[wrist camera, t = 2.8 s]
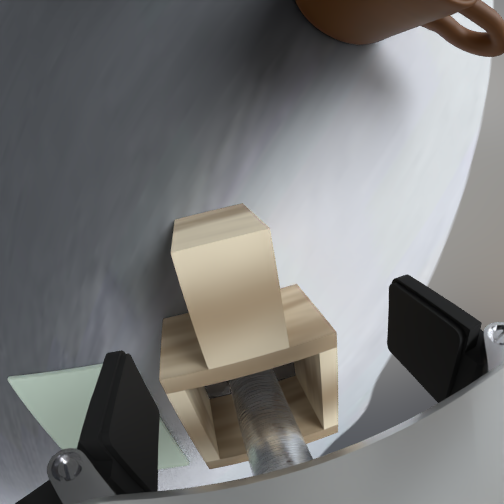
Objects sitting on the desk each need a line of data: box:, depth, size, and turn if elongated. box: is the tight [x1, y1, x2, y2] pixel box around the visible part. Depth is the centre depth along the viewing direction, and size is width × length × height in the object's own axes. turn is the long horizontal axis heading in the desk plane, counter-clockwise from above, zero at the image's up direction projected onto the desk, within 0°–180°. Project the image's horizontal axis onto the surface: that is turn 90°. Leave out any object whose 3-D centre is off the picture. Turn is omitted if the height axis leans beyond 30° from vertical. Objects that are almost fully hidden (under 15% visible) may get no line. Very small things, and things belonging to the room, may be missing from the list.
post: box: [228, 368, 313, 476], centre depth 13 cm, size 3×3×18 cm
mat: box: [7, 364, 189, 469], centre depth 21 cm, size 14×12×1 cm
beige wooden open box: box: [159, 203, 338, 469], centre depth 17 cm, size 15×9×6 cm, turn 11°
